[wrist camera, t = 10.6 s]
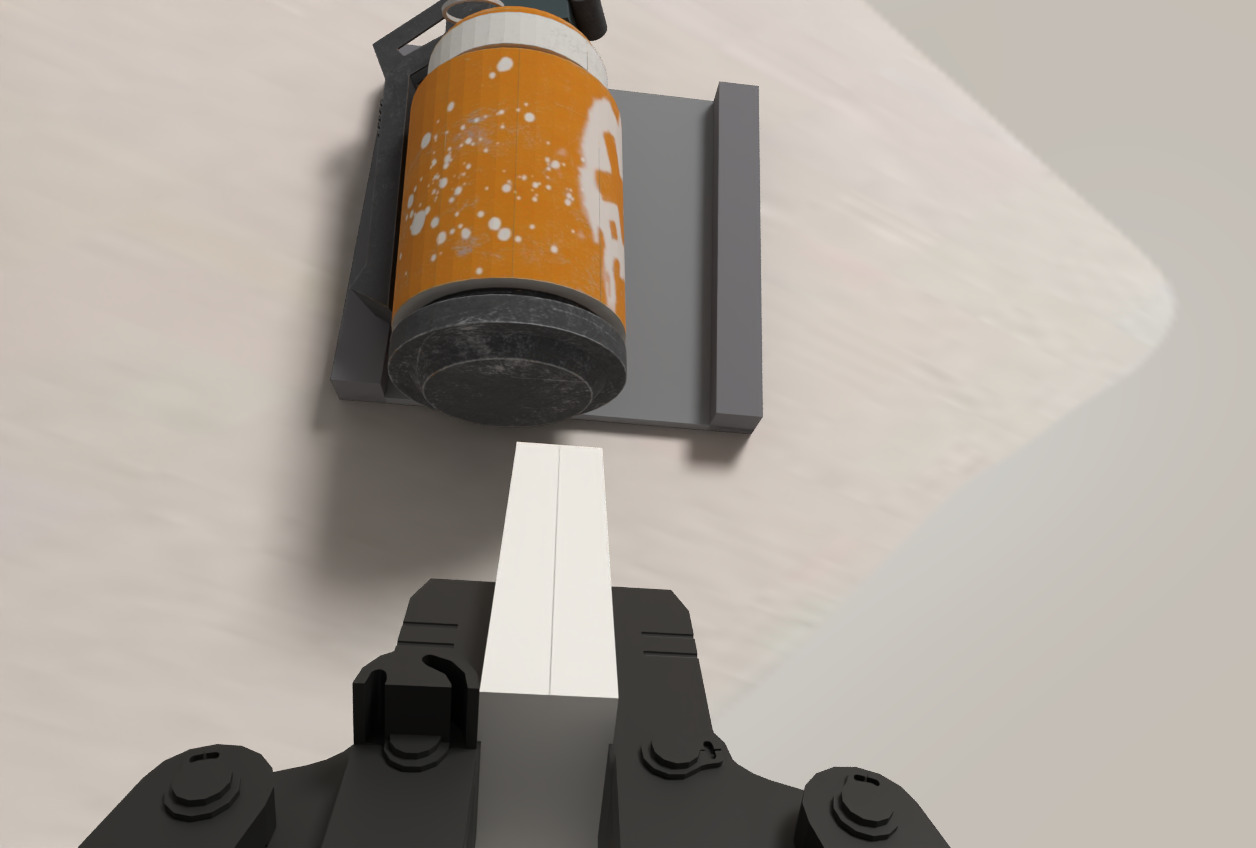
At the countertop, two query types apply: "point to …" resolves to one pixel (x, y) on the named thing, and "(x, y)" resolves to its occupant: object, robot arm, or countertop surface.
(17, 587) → the countertop surface
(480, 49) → the canister
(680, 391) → the tray
